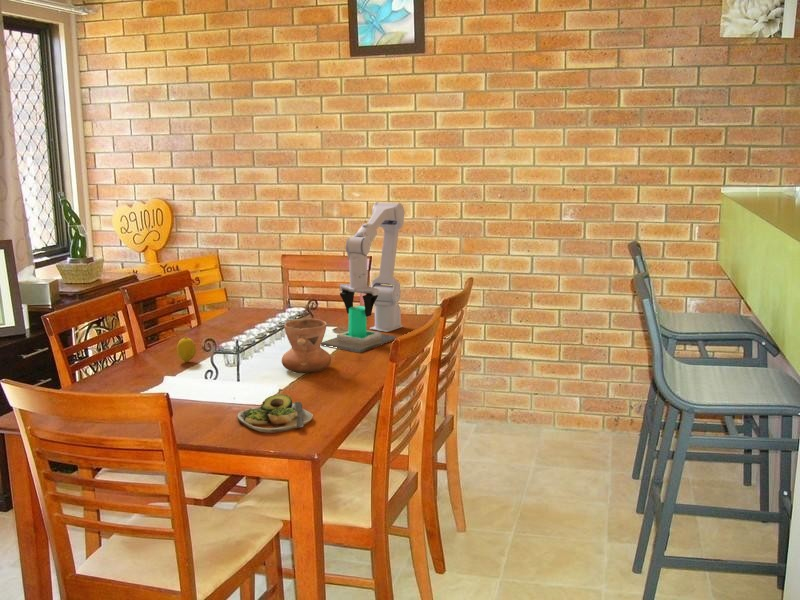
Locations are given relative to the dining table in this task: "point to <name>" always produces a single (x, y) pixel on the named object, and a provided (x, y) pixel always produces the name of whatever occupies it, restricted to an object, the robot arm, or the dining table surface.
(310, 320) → the ceramic jug
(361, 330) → the candle
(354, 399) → the dining table surface
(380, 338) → the candle base
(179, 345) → the lemon
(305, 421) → the salad plate
